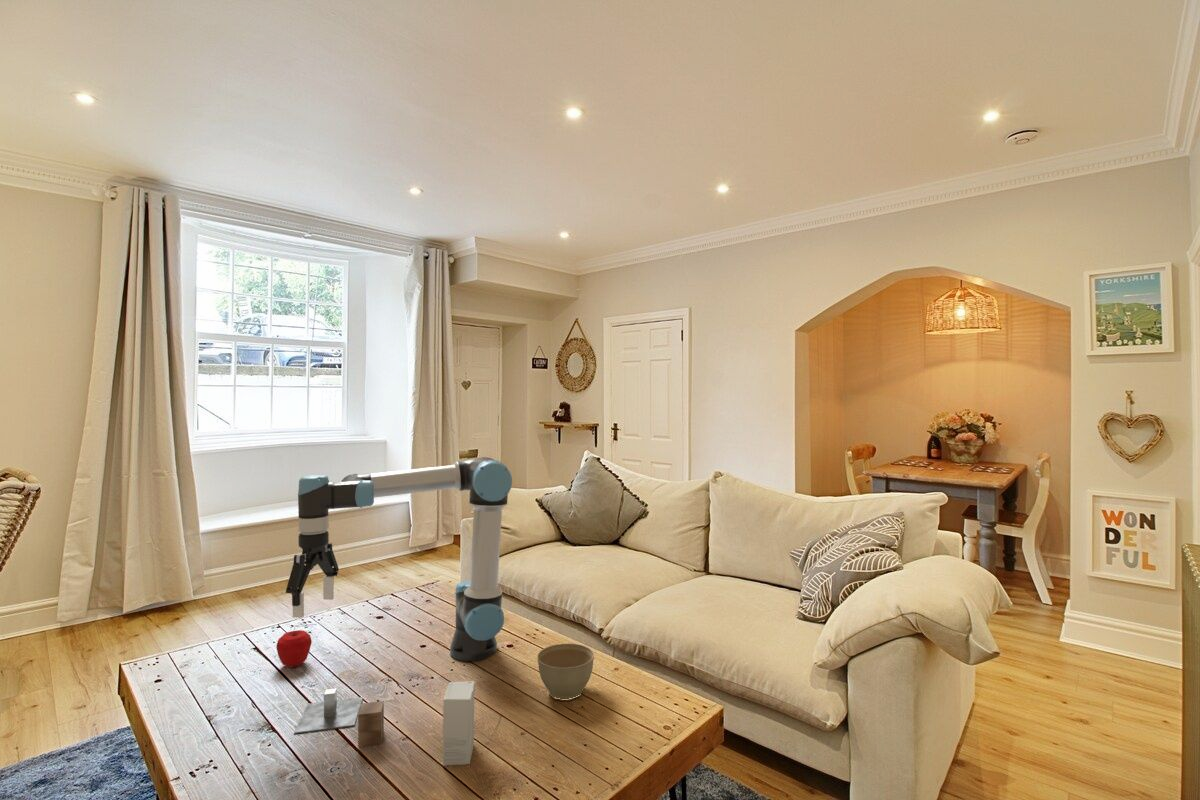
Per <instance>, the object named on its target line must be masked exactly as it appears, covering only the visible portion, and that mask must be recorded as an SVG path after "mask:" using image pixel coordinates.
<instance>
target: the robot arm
mask: <svg viewBox="0 0 1200 800" xmlns="http://www.w3.org/2000/svg"><path fill="white" fill-rule="evenodd" d="M512 484H513V476H512V474H511V472H510V470H509V468H508V467H507V466H506V465H505V464H504V463H502V462H501V461H499V460H495V459H494V458H491V457H487V456H486V457H485V456H482V457H476V458H473V459H472V458H471V459H466V460H460V461H459V460H458V461H455V462H454V463H453V464H449V465H442V466H432V467H431V466H429V467H421V468H413V469H403V470H394V471H393V470H392V471H384V472H382V471H381V472H374V473H363V474H357V473H351V474H348V475H346V476H344V477H343V478H342V479H341V481H330V480H329V476H327V475H325V474H311V475H305V476H302V477H301V478H299V481H298V493H297V500H298V501H297V503H298V504H297V507H298V508H297V509H298V532H299V534H298V535H297V536H298V548H299V547H300V548H301V550H302V552H301V554H294V556H293V564H292V568H291V571H290V576H289V578H288V582H287V586H286V588H285V589H286V590H285V593H286V594H291V605H292V618H304V617H305V606H304V605H305V603H304V602H305V597H304V595H305V593H304V592H303V588H304V586H305V585H306V581H307V580H308V577H309V575H310V572H311V570H313V569H314V567H316V566H317V565H318V566H319V568H320V570H321V571H322V572H323V574H324V576H323V577H322V581H323V582H322V583H323V584H322V588H323V589H322V590H323V591H322V592H323V594H322V597H323V600H327V601H328V600H330V601H333V600H334V597H335V596H334V587H335V586H334V584H335V582H334V581H335V580H334V577H337V576H338V574H339V573H338V572H339V569H340V568H339V566H338V562H337V560H336V556H335V553H334V551H333V543H331V542H330V541H329V539H330V538H329V534H330V533H329V531H328V530H329V529H330V528H329V526H330V524H329V523H330V522H329V520H330V519H329V516H330V515H329V511H330V510H336V509H350V508H351V509H352V508H359V509H360V508H361V509H362V508H365V507H366V508H367V507H371V506H373V505H374V502H375V498H382V497H390V496H399V495H400V496H401V495H409V494H417V493H418V494H419V493H424V492H425V493H426V492H434V491H443V490H451V489H455V490H457V491H458V492H461V491H469V500H468V501H469V503H468V504H469V505H470V506H471V507H472V508H473V519H472V535H471V537H472V538H471V539H472V540H471V552H470V553H471V554H470V555H471V557H470V571H469V572H470V573H469V580H466V581H465V580H464V581H461V582H459V583H458V584H456V586H455V592H454V595H455V629H454V633H453V636H452V640H451V643H450V646H449V654H450V656H451V657H452V658H453V659H454V660H457V661H461V662H462V661H463V662H475V661H481V660H485V659H487V658H490V657H492V656H493V655H495V654H496V653H497V650H498V641H497V638H496V636H497V635H498V634H499V633H500V632H501V630H502V629H503V627H504V624H505V613H504V611H503V609H502V605H503V603H502V602H503V590H502V589H501V587H499V569H500V567H499V566H500V552H501V551H500V550H501V549H500V548H501V535H502V534H501V533H502V519H503V518H502V516H503V515H502V514H503V509H504V508H505V507H506V506H507V505H508V497H509V496H508V495H509V493H510V492H511V489H512V487H513V486H512Z"/></svg>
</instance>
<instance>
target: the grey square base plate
mask: <svg viewBox="0 0 1200 800" xmlns="http://www.w3.org/2000/svg"><path fill="white" fill-rule="evenodd" d="M337 696H338V693H337V687H336V688H327V689H325V691H324V692H323V701H319V702H311V703H307V705H306V707H305V708H304V712H302V715H301V718H300V719H299V722H298V723H297V726H296V728H295V730H294V732H293V734H294V735H297V734H298V735H299V734H304V733H313V732H321V731H328V730H336V729H345V728H350V727H351V728H353V727H356V726H355V725H356V722H357V719H358V714H359V710H360V707H361V704H362V702H363V696H361V697H360V696H359V697H353V698H351V697H350V698H344V699H337Z"/></svg>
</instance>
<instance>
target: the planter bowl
mask: <svg viewBox="0 0 1200 800" xmlns="http://www.w3.org/2000/svg"><path fill="white" fill-rule="evenodd" d="M594 659H595V652H594V650H592V648H590V647H588V646H586V645H583V644H578V643H566V642H565V643H558V644H557V643H556V644H552V645H549V646H547V647H543V649H541V650H539V652H538V653H537V662H538V663H537V664H538V670H539V671H538V672H539V676H540V678H541V680H542V683H543V685H544V686H545V688H546V689H547V690H548V694H549V693H550V694H551V695H552V696H553V697H556V698H560V699H569V698H573V697H576V696H578V695H580V694H581V693H582V694H583V692H584V689H585V687H586V686H587V685H588V682H589V681H590V678H591V676H592V674H593V673H592V672H593V666H594ZM582 691H583V692H582ZM550 694H549V695H550ZM582 694H581V695H582Z"/></svg>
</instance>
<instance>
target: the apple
mask: <svg viewBox="0 0 1200 800" xmlns="http://www.w3.org/2000/svg"><path fill="white" fill-rule="evenodd" d="M311 646H312V636H311V634H309V632H307V631H306V630H301V629H300V630H291V631H287V632H285V633H283V634H282V636H280V637H279V638H278V639H277V643H276V646H275V647H276V653H277V656H278V658H279V661H280V662H281V664H282V665H283V666H285V667H287V668H297V667H300V666H301V665H302V664H304V662H305V661H306V660H307V659H308V656H309V653H310V650H311Z"/></svg>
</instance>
